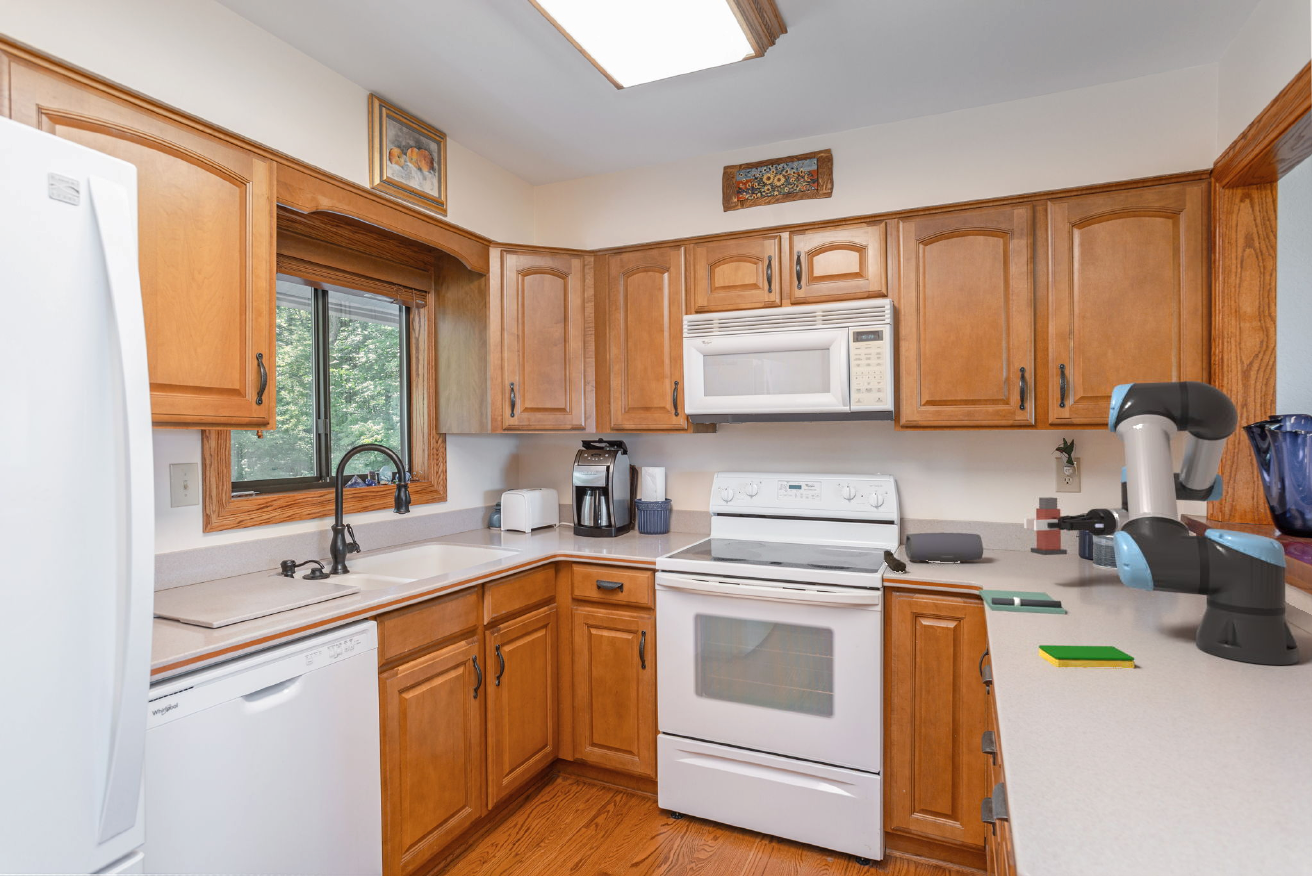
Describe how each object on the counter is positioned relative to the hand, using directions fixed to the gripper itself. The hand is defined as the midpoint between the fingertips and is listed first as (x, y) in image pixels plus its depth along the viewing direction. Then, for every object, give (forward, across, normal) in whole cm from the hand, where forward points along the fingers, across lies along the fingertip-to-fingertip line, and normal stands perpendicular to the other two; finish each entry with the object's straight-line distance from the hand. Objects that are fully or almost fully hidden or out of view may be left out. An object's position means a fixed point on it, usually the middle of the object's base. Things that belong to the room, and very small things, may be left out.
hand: (1030, 524), depth 185 cm
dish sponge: (+29, -53, -19) cm, 64 cm away
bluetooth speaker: (+1, +42, -18) cm, 45 cm away
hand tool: (+22, +37, -18) cm, 46 cm away
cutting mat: (+12, -12, -18) cm, 25 cm away
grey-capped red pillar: (-5, 0, -8) cm, 10 cm away
